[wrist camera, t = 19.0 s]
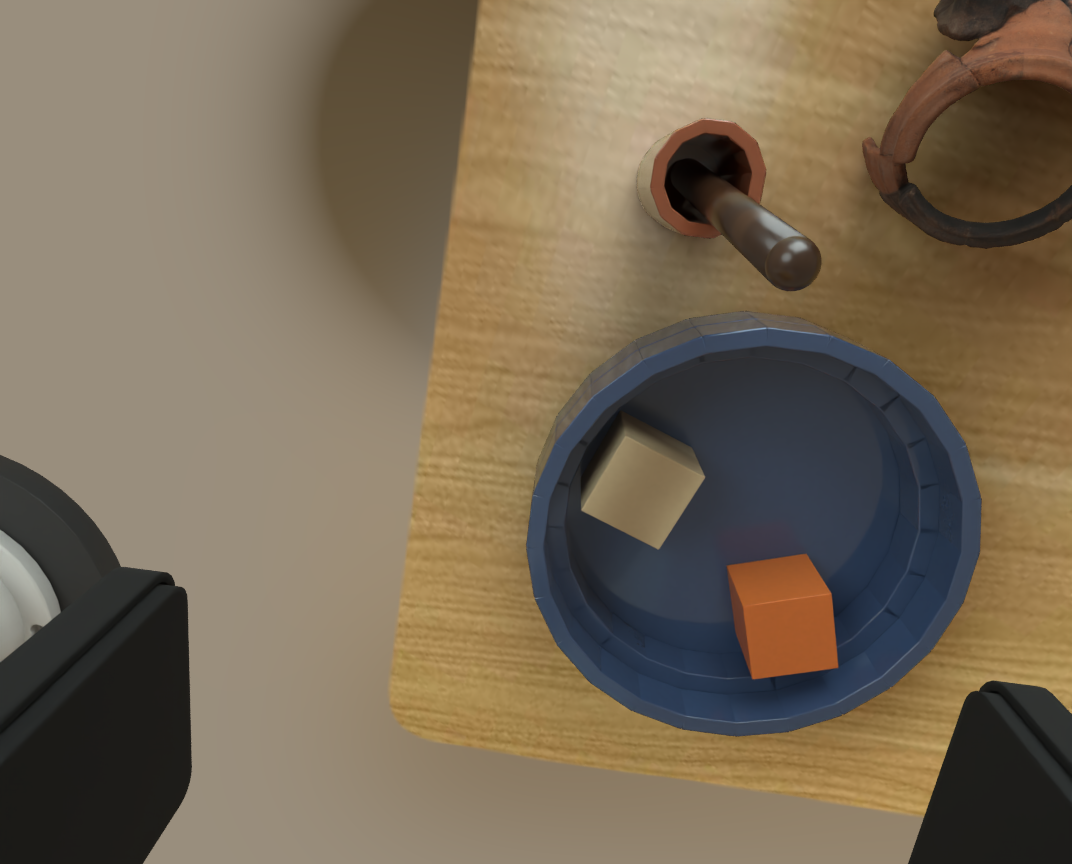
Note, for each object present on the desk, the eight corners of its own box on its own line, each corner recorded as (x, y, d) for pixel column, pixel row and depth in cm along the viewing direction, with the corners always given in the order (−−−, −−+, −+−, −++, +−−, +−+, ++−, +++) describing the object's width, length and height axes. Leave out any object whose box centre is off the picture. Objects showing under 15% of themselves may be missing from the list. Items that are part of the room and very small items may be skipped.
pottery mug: (1131, 127, 33) (1181, 219, 27) (896, 208, 38) (897, 298, 33) (1082, -180, 27) (1131, -144, 22) (814, -35, 32) (798, 25, 27)
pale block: (580, 478, 38) (580, 510, 34) (620, 409, 37) (625, 435, 33) (650, 514, 38) (658, 550, 34) (692, 447, 37) (705, 477, 33)
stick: (665, 188, 34) (767, 295, 19) (670, 154, 33) (779, 239, 19) (697, 190, 34) (821, 300, 19) (702, 157, 33) (836, 244, 19)
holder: (630, 222, 35) (643, 230, 28) (644, 127, 33) (661, 112, 27) (718, 233, 34) (752, 243, 28) (735, 139, 33) (776, 126, 27)
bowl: (513, 647, 42) (505, 706, 37) (559, 285, 36) (557, 300, 31) (872, 694, 41) (911, 760, 37) (980, 338, 35) (1043, 361, 31)
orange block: (735, 633, 40) (752, 679, 36) (726, 565, 39) (742, 606, 35) (813, 622, 40) (838, 668, 36) (806, 553, 38) (831, 593, 35)
